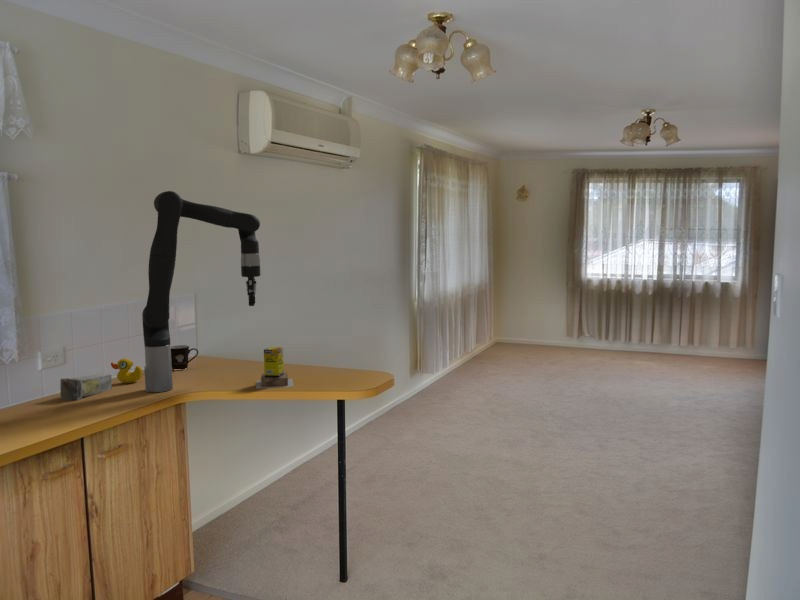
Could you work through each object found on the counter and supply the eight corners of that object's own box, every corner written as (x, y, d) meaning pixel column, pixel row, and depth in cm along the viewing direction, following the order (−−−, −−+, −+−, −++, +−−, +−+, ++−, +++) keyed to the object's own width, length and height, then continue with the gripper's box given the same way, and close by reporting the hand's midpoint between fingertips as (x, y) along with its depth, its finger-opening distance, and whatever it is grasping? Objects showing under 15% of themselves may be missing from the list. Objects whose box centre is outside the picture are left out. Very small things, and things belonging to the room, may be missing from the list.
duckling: (111, 385, 250) (109, 360, 249) (112, 383, 255) (111, 358, 254) (142, 383, 254) (140, 358, 253) (143, 380, 259) (141, 356, 258)
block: (100, 388, 248) (98, 368, 247) (116, 389, 245) (115, 369, 245) (60, 399, 230) (58, 378, 229) (77, 401, 227) (76, 379, 227)
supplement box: (279, 377, 244) (278, 349, 243) (264, 377, 245) (263, 349, 244) (284, 374, 250) (283, 346, 249) (269, 374, 251) (268, 346, 250)
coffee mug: (166, 371, 277) (165, 348, 276) (174, 367, 285) (173, 345, 284) (192, 371, 276) (191, 348, 275) (199, 367, 285) (198, 345, 284)
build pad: (255, 389, 240) (255, 388, 240) (257, 381, 253) (257, 380, 253) (293, 387, 242) (293, 386, 242) (292, 379, 256) (292, 378, 256)
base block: (261, 387, 242) (261, 379, 242) (262, 381, 252) (261, 373, 251) (287, 385, 244) (287, 377, 244) (287, 379, 254) (287, 372, 253)
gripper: (241, 264, 262) (243, 303, 263) (239, 265, 248) (241, 307, 249) (260, 263, 263) (262, 302, 265) (259, 265, 249) (261, 306, 251)
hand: (252, 304), depth 257 cm, fingers open, 8 cm apart
